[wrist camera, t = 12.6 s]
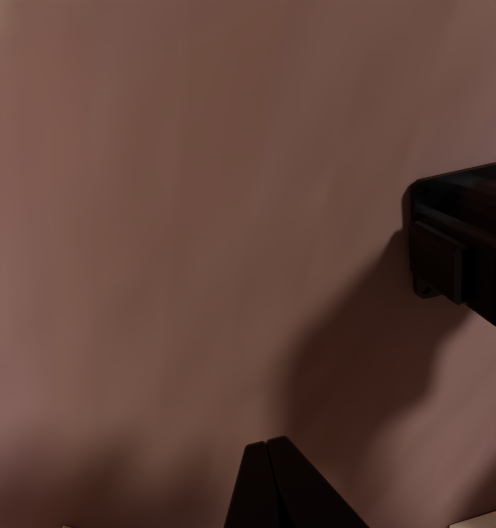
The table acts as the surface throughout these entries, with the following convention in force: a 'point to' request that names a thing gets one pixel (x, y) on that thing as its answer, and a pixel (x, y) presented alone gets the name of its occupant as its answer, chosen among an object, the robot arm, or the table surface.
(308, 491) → the robot arm
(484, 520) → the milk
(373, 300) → the table surface
